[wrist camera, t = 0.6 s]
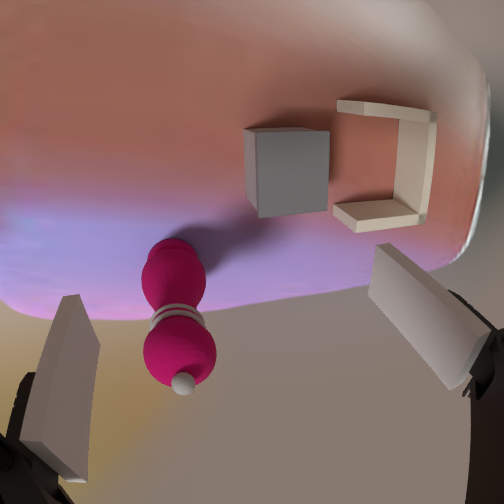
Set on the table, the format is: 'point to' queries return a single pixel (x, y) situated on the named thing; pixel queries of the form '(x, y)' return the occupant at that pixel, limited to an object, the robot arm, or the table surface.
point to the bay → (397, 170)
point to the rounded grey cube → (286, 170)
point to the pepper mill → (176, 317)
